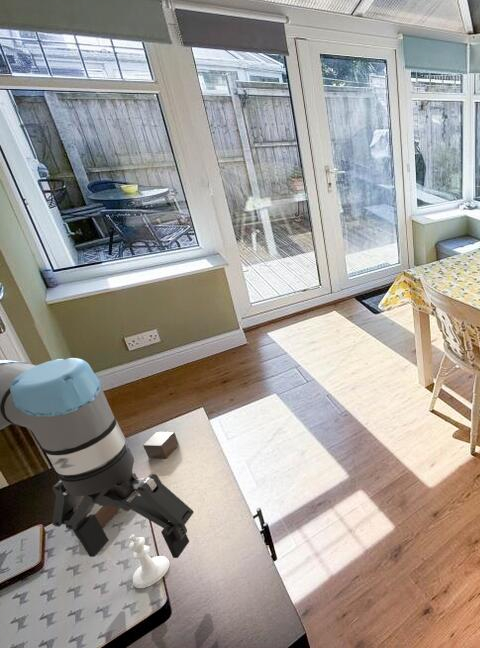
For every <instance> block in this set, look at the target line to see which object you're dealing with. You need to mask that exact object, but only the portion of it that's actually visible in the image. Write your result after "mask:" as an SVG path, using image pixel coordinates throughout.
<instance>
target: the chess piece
mask: <svg viewBox="0 0 480 648" xmlns="http://www.w3.org/2000/svg"><path fill="white" fill-rule="evenodd" d="M128 539H129V540H130V541H131V542H130V543H129V545H128V549H129V550H130V551H132V552H133V554H132V556H133V557H132V558H133V559H134V560H139V562H140V566H139V567H138V568H137V569H136V570H135V572H134V573H133V575H132V584H133V586H134V587H135V588H136V589H145V588H148V587H151V586H153V585H154V584H156V583H157V582H158V581H160V580H161V579H162V578H163V577H164V576H165V575H166V573H167V572H168V571H169V568H170V561H169V559H168V558H167V557H166V556H164V555H157V556H153V557H151V556H150V555H149V552H150V550H151V549H150V546H149V545H145V542H146V539H145V537H143V536H141V537H139V536H138V537H137V535H136V534H135V533H132V534H131V535H130V536H128Z"/></svg>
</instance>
